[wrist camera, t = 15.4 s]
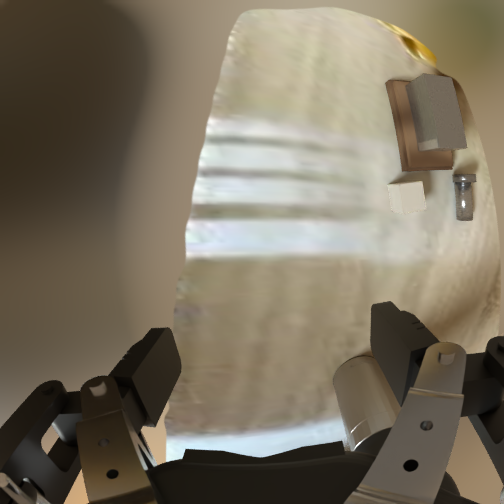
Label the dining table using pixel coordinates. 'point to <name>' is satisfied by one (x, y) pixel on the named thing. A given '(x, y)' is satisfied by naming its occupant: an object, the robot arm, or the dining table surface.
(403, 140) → the stand
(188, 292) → the dining table surface
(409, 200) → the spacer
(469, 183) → the bolt
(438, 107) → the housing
